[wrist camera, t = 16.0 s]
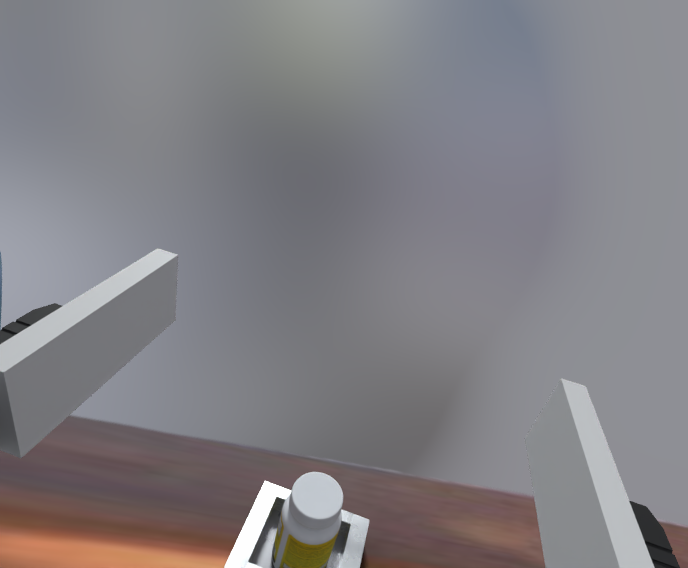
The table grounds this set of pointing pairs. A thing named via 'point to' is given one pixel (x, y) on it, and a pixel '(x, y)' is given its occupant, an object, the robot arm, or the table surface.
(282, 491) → the rectangular metal tray
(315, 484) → the supplement bottle
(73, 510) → the table surface
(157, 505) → the table surface
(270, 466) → the table surface
